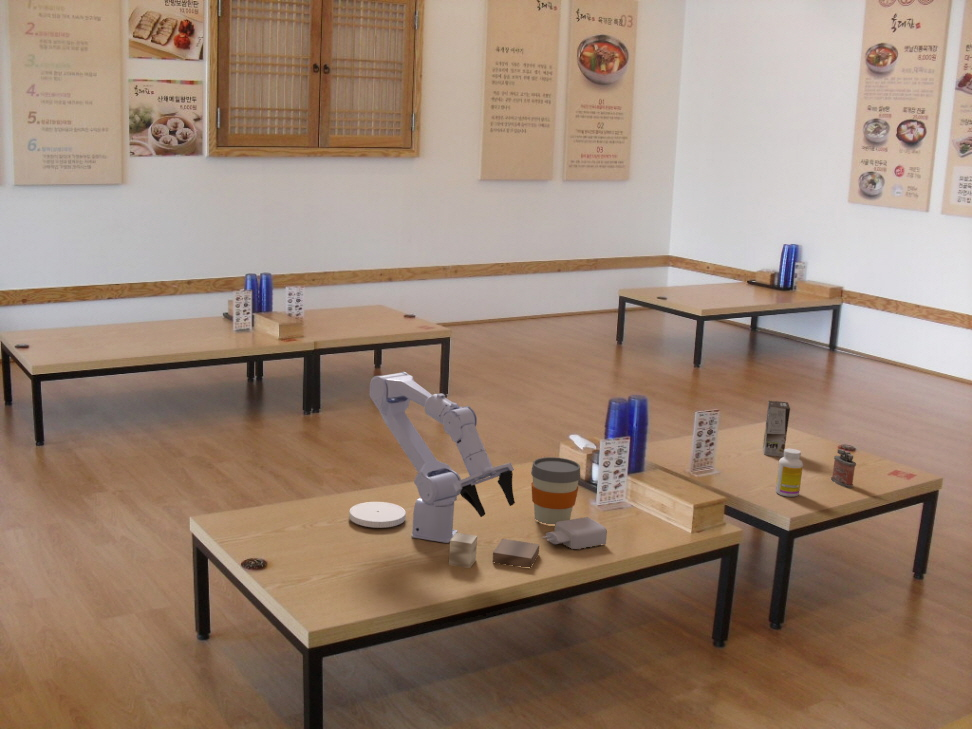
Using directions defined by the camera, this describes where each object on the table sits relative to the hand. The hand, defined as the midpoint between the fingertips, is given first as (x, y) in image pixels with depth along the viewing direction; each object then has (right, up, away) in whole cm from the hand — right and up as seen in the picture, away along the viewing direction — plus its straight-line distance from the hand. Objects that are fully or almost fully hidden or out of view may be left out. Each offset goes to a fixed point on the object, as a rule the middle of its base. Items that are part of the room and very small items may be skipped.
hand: (497, 510), depth 248 cm
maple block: (-8, -12, +2) cm, 15 cm away
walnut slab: (+4, -12, +6) cm, 14 cm away
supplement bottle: (+84, -4, +64) cm, 105 cm away
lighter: (+103, -2, +76) cm, 129 cm away
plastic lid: (-30, -6, +24) cm, 39 cm away
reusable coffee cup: (+14, -7, +31) cm, 35 cm away
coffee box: (+90, +5, +104) cm, 138 cm away
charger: (+18, -11, +17) cm, 27 cm away
